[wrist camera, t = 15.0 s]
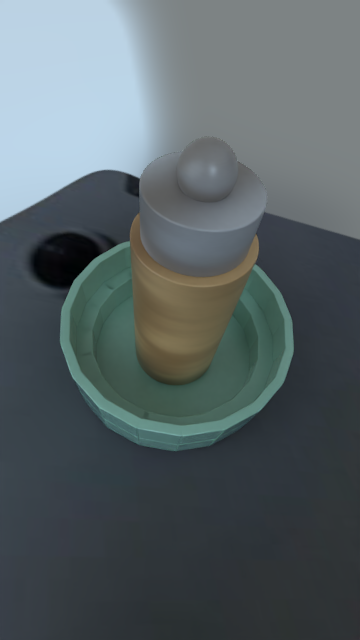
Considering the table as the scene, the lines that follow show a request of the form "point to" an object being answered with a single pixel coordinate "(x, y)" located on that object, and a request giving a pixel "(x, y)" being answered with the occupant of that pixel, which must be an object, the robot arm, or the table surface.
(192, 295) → the pepper mill
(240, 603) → the table surface
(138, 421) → the green shallow bowl
